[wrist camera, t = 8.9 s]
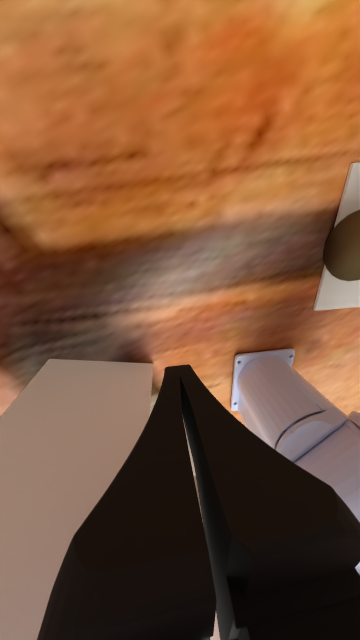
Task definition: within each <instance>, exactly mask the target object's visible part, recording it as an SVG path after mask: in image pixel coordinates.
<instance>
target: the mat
mask: <svg viewBox="0 0 360 640" xmlns="http://www.w3.org/2000/svg"><path fill="white" fill-rule="evenodd" d="M357 210H360V163H352V164H350V167H349V171H348V175H347V179H346V183H345V187H344V191H343V194H342V198H341V202H340V206H339V210H338V214H337V218H336V222H335V226H336V225H337V224H338V223H339V222H340V221H341V220H342V219H344V218H345V217H346V216H347V215H349V214H351V213H353V212H355V211H357ZM335 226H334V228H335ZM352 307H360V280H356V281H344V280H339V279H337V278H336V277H334V276H332V275H331V274H330V272H329V271H328V270H327V268H326V266H325V265H324V268H323V272H322V276H321V280H320V284H319V288H318V292H317V296H316V300H315V304H314V307H313V310H314V311H319V310H330V309H341V308H352Z"/></svg>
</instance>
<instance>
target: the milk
mask: <svg viewBox="0 0 360 640" xmlns="http://www.w3.org/2000/svg"><path fill="white" fill-rule="evenodd" d="M152 374H153V364H151V363H129V362H108V361H86V360H64V359H49V360H48V361H47V362H46V363H45V364H44V366H43V367H42V368H41V369H40V370H39V372H38V373H37V374H36V375H35V376H34V378H33V379H32V380H31V381H30V382H29V384H28V385H27V386H26V387H25V388H24V389H23V391H22V392H21V393H20V394H19V395H18V397H17V398H16V399H15V400H14V401H13V403H12V404H11V405H10V406H9V407H8V409H7V410H6V411H5V412H4V413H3V415H2V416H1V417H0V640H37V638H38V634H39V631H40V628H41V624H42V621H43V618H44V614H45V611H46V607H47V604H48V601H49V597H50V594H51V591H52V588H53V585H54V582H55V580H56V577H57V575H58V572H59V569H60V567H61V564H62V562H63V559H64V557H65V554H66V552H67V549H68V547H69V545H70V542H71V540H72V538H73V536H74V534H75V533H76V531H77V530H78V529H79V527H80V526H81V525H82V523H83V522H84V520H85V519H86V518H87V516H88V515H89V514H90V512H91V511H92V509H93V508H94V507H95V505H96V504H97V503H98V501H99V500H100V498H101V497H102V496H103V494H104V493H105V491H106V490H107V488H108V487H109V486H110V484H111V482H112V481H113V479H114V478H115V476H116V475H117V473H118V472H119V470H120V469H121V467H122V466H123V464H124V462H125V461H126V459H127V458H128V456H129V454H130V453H131V451H132V449H133V447H134V446H135V444H136V442H137V440H138V439H139V437H140V435H141V433H142V431H143V429H144V427H145V425H146V423H147V421H148V419H149V413H150V400H151V387H152Z"/></svg>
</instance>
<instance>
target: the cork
mask: <svg viewBox="0 0 360 640" xmlns="http://www.w3.org/2000/svg"><path fill="white" fill-rule="evenodd" d="M324 263H325V266H326V268H327V270H328V271H329V272H330V274H331V275H332V276H334V277H336V278H337V279H339V280H344V281H356V280H360V210H357V211H355V212H353V213H351V214H349V215H347V216H346V217H345V218H344V219H342V220H341V221H340V222H339V223H338V224H337V225H336V226H335V228H334V229H333V230H332V231H331V233H330V235H329V237H328V239H327V241H326V243H325V248H324Z"/></svg>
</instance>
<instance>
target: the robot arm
mask: <svg viewBox="0 0 360 640" xmlns="http://www.w3.org/2000/svg"><path fill="white" fill-rule="evenodd" d="M294 356H295V350H294V349H292V348H290V349H281V350H272V351H263V352H254V353H245V354H238V355H236V356H235V361H234V373H233V384H232V396H231V410H232V411H239V413H240V415H241V417H242V419H243V421H244V423H245V425H246V427H247V428H246V427H245V426H244V425H243V424H242V423H241V422H239V421H238V420H237V419H236V418H235V417H234V416H233V415H232V414H231V413H230V412H229V411H228V410H226V409H225V408H224V407H223V406H222V404H221V403H220V402H219V401H218V400H217V399H216V398H215V397H214V396H213V395H212V394H211V393H210V391H209V390H208V389H207V388H206V387H205V385H204V384H203V383H202V382H201V380H200V379H199V378H198V376H197V375H196V374H195V372H194V371H193V369H192V367H191V366H190V365H189V364H188V365H180V366H171V367H166V368H165V373H164V378H163V382H162V386H161V389H160V392H159V395H158V398H157V400H156V403H155V405H154V408H153V410H152V412H151V415H150V417H149V419H148V421H147V423H146V425H145V427H144V429H143V431H142V433H141V435H140V437H139V439H138V440H137V442H136V444H135V446H134V447H133V449H132V451H131V453H130V454H129V456H128V458H127V459H126V461H125V462H124V464H123V466H122V467H121V469H120V470H119V472H118V473H117V475H116V476H115V478H114V479H113V481H112V482H111V484H110V486H109V487H108V488H107V490H106V491H105V493H104V494H103V496H102V497H101V498H100V500H99V501H98V503H97V504H96V505H95V507H94V508H93V509H92V511H91V512H90V514H89V515H88V516H87V518H86V519H85V520H84V522H83V523H82V525H81V526H80V527H79V529H78V530H77V531H76V533H75V534H74V536H73V538H72V540H71V542H70V545H69V547H68V549H67V552H66V554H65V557H64V559H63V562H62V564H61V567H60V569H59V572H58V575H57V577H56V580H55V582H54V585H53V588H52V591H51V594H50V597H49V601H48V604H47V607H46V611H45V614H44V618H43V621H42V624H41V628H40V631H39V634H38V638H37V640H210V637H211V636H213V631H214V622H215V613H217V620H218V627H219V633H220V639H221V640H360V413H358V412H356V411H353V412H351V413H350V414H349V416H347V415H346V414H345V413H343V412H342V411H340V410H339V409H338V408H337V407H336V406H335V405H334V404H332V403H331V402H330V401H329V400H328V399H327V398H326V397H325V396H323V395H322V394H321V393H320V392H319V391H318V390H317V389H316V388H314V387H313V386H312V385H311V384H310V383H309V382H308V381H307V380H305V379H304V378H303V377H302V376H301V375H300V374H299V373H298V372H296V371H295V370H294V369H293V368H292V364H293V360H294ZM238 361H240V362H238ZM182 415H183V416H182ZM183 419H184V422H183ZM184 423H185V428H186V432H187V436H188V440H189V445H190V449H191V453H192V457H193V462H194V467H195V473H196V479H197V486H198V492H199V498H200V505H201V511H202V517H201V513H200V507H199V502H198V497H197V492H196V487H195V482H194V476H193V471H192V466H191V461H190V455H189V450H188V444H187V439H186V433H185V428H184ZM202 518H203V522H202ZM203 524H204V527H203ZM204 531H205V532H204Z"/></svg>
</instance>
